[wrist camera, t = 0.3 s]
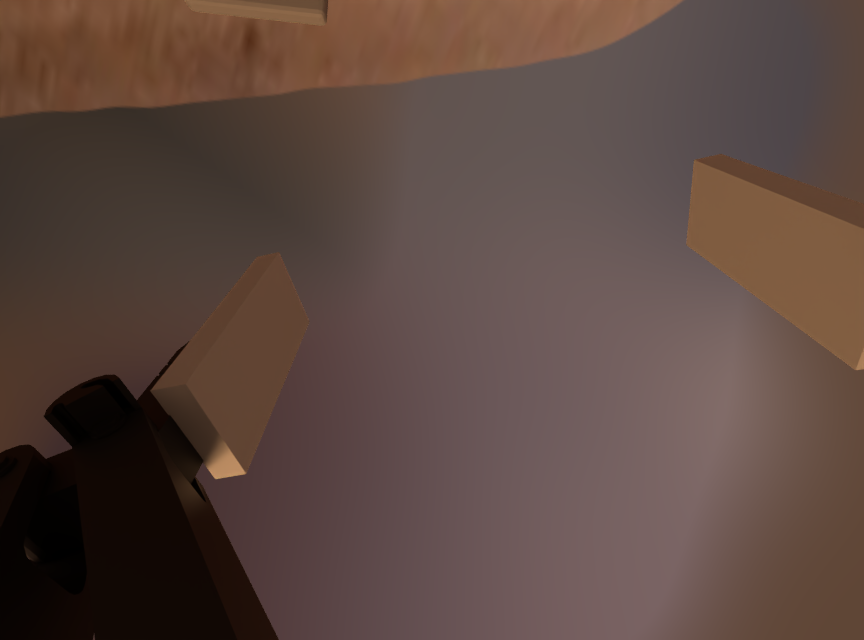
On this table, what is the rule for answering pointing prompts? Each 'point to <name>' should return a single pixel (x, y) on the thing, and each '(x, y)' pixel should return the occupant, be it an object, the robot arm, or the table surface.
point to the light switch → (267, 9)
